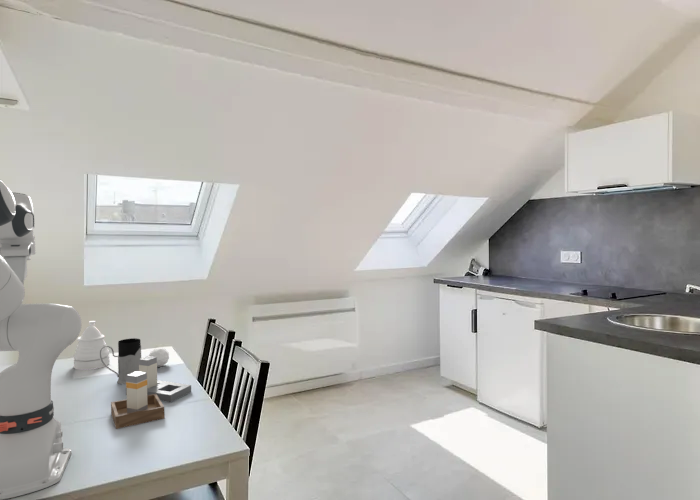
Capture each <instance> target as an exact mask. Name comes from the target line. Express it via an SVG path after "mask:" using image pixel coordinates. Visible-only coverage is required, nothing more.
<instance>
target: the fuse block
mask: <svg viewBox="0 0 700 500" xmlns="http://www.w3.org/2000/svg"><path fill="white" fill-rule="evenodd" d="M191 393H192V385H191V384H186V383H179V382H173V381H168V380H166V381H165V380H159V379H157V385H156V386H153V387H151V388H149V389H148V388H147V395H152V394H157V396H158V397H159V399H160V401H161V402H165V403H173V402H175V401H176V400H179V399H181V398H183V397H184V396H186V395H188V394H191ZM125 396H127V389H126V388H125Z"/></svg>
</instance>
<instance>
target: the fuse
mask: <svg viewBox="0 0 700 500" xmlns="http://www.w3.org/2000/svg"><path fill="white" fill-rule="evenodd" d="M139 372H147V388H148V389H149V388H151V387H153V386H156V385H157V380H158V367H157V357H151V356H149V355H145V356H144V357H141V359H139Z"/></svg>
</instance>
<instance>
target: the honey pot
mask: <svg viewBox="0 0 700 500" xmlns="http://www.w3.org/2000/svg"><path fill="white" fill-rule="evenodd" d="M96 322H97V320H89V321H88V326H87V327H86V328H85V329H84V330H83V332H82V334H81V336H78V337H77V338H76V341H77V342H78V343H77V345H76V349H75V352H74V354H73V368H74V369H75V370H78V371H87V370H95V369H96V370H97V369H100V368H104V367H105V366H104V365H103V363H102V361H101V359H100V350H101V348H103V347H105V346H107V343H106V341H105V337H106V336H105V335H104V334H103V333H102V332H101V331H100V330H99V329H98V328H97V327H96V326H95V325H96ZM101 357H102V360H103V362H104V363H105V365H106V366H107V367H108V366H109V365H110V363H111V362H110V350H109V347H105V348H103V349H102V350H101Z"/></svg>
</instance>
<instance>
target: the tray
mask: <svg viewBox="0 0 700 500" xmlns="http://www.w3.org/2000/svg"><path fill="white" fill-rule="evenodd" d="M147 403H148V409H147V410H142V411H137V412H132V413H127V398H125V399H121V400H115V401H110V412H111V413H110V414H111V417H112V420H113V424H114V427H115V429H116V430H117V429H118V430H119V429H123V428H127V427H132V426H136V425H141V424H145V423H149V422H154V421H159V420H164V419H166V418H165V406H164V404H163V401H160V399H159V397H158V396H157V394H152V395H147Z"/></svg>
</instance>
